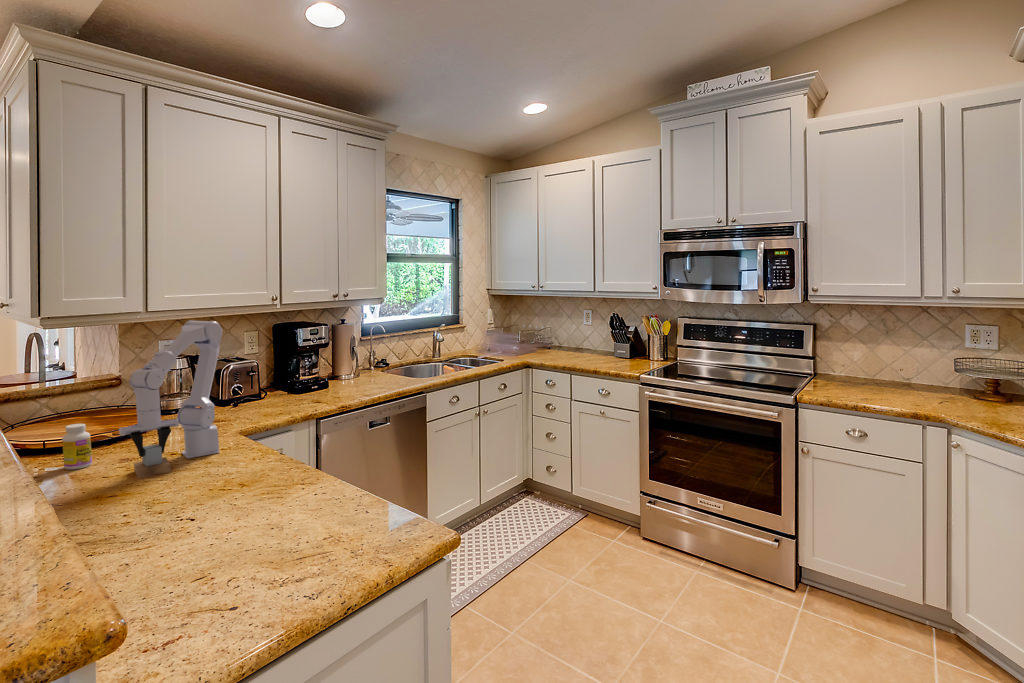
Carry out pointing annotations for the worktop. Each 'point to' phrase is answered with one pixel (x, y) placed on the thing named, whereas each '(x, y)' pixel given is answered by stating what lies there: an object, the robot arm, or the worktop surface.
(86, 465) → the supplement bottle
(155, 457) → the gray block
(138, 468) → the walnut block
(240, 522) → the worktop surface
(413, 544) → the worktop surface
